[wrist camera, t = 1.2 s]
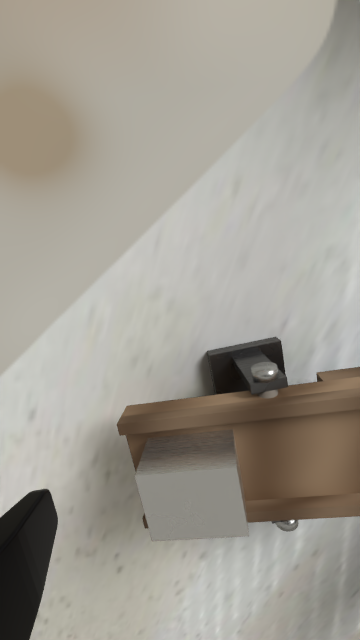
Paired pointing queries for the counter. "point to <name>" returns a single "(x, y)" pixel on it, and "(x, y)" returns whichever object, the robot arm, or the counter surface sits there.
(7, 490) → the counter surface
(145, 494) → the steel block
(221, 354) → the pivot stand
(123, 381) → the counter surface
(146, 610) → the counter surface
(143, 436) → the beam
